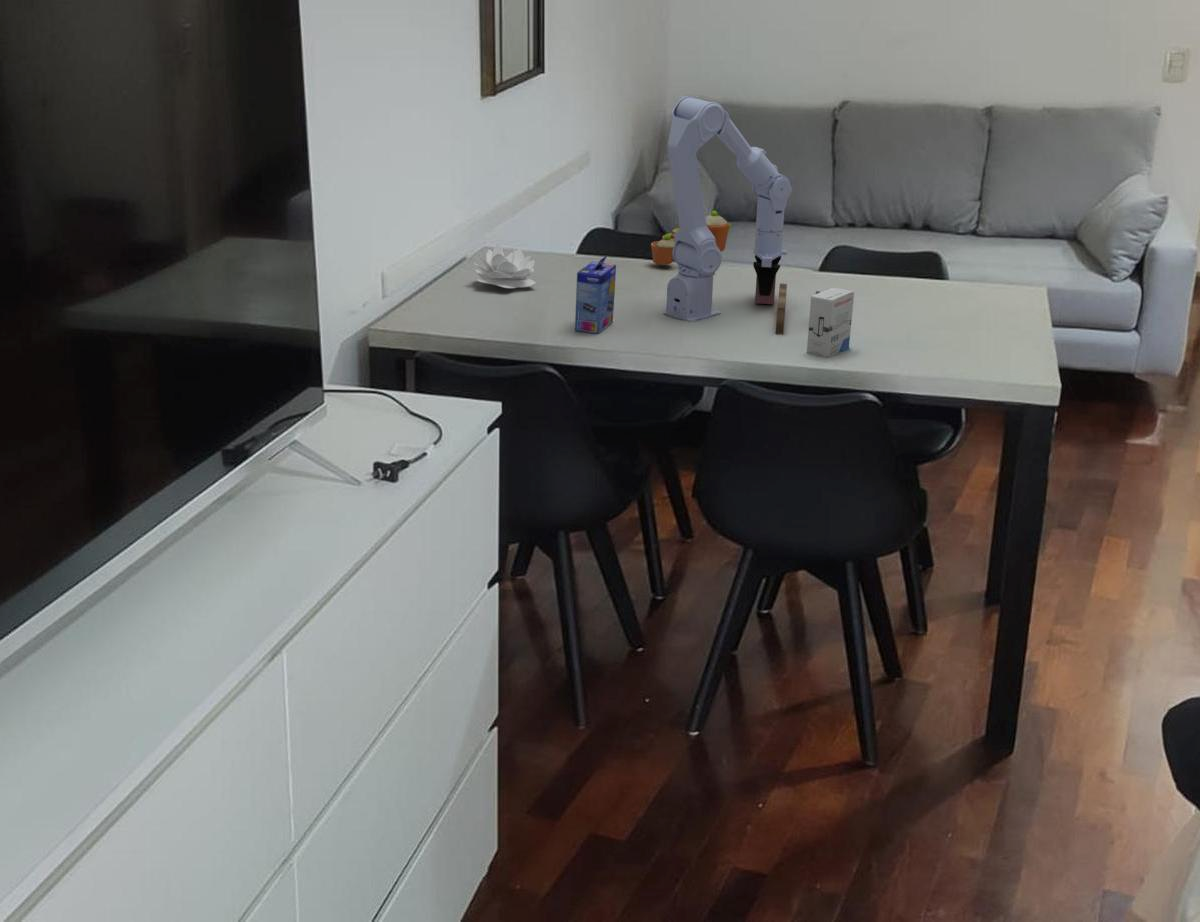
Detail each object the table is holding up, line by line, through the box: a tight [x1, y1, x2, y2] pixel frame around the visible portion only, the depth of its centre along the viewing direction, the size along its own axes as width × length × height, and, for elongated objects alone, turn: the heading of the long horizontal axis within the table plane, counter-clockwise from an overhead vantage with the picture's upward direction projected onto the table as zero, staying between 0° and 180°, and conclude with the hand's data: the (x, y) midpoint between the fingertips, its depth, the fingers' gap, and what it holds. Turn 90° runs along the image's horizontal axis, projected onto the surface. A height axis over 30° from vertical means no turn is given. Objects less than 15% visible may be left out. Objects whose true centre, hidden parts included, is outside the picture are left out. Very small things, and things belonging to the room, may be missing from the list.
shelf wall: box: [775, 282, 788, 335], centre depth 297 cm, size 18×2×6 cm, turn 172°
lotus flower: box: [473, 243, 537, 289], centre depth 319 cm, size 14×15×9 cm
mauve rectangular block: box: [754, 274, 777, 305], centre depth 311 cm, size 5×4×7 cm
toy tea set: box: [650, 210, 732, 266], centre depth 346 cm, size 26×16×10 cm, turn 161°
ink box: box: [806, 287, 855, 358], centre depth 278 cm, size 9×5×12 cm, turn 141°
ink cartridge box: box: [574, 254, 617, 335], centre depth 289 cm, size 10×6×14 cm, turn 162°
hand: (765, 291), depth 311 cm, fingers closed on mauve rectangular block, 5 cm apart
